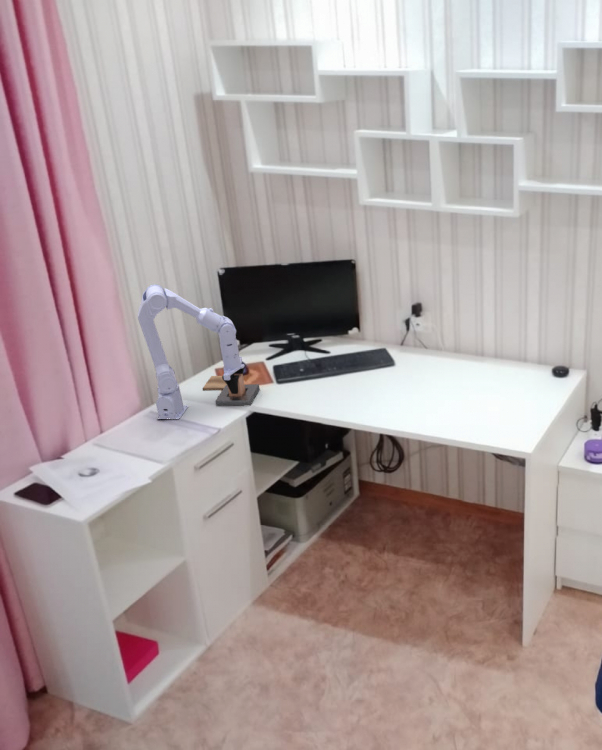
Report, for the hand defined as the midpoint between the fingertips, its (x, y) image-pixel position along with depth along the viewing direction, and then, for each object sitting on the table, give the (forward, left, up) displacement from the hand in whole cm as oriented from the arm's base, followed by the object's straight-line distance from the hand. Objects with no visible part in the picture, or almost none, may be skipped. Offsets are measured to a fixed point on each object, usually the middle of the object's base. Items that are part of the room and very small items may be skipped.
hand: (236, 390), depth 297 cm
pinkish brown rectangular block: (0, 0, -3) cm, 3 cm away
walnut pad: (+11, +10, -3) cm, 15 cm away
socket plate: (0, 0, -3) cm, 3 cm away
